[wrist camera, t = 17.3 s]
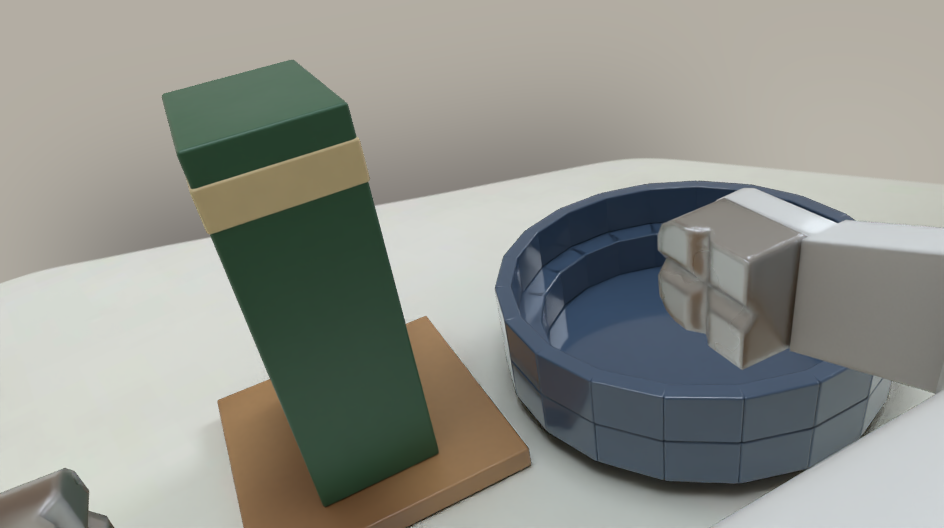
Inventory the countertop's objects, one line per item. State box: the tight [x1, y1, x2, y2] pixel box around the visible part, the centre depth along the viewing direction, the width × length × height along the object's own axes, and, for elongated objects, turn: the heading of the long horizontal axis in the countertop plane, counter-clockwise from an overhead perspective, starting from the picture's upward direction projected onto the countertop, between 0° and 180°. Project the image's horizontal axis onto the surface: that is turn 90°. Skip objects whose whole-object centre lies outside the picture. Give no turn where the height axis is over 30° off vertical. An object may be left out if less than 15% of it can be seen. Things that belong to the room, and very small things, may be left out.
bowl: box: [495, 181, 891, 484], centre depth 25 cm, size 13×13×4 cm
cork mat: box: [218, 316, 531, 528], centre depth 24 cm, size 9×9×1 cm
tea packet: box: [162, 60, 439, 507], centre depth 21 cm, size 4×6×12 cm
